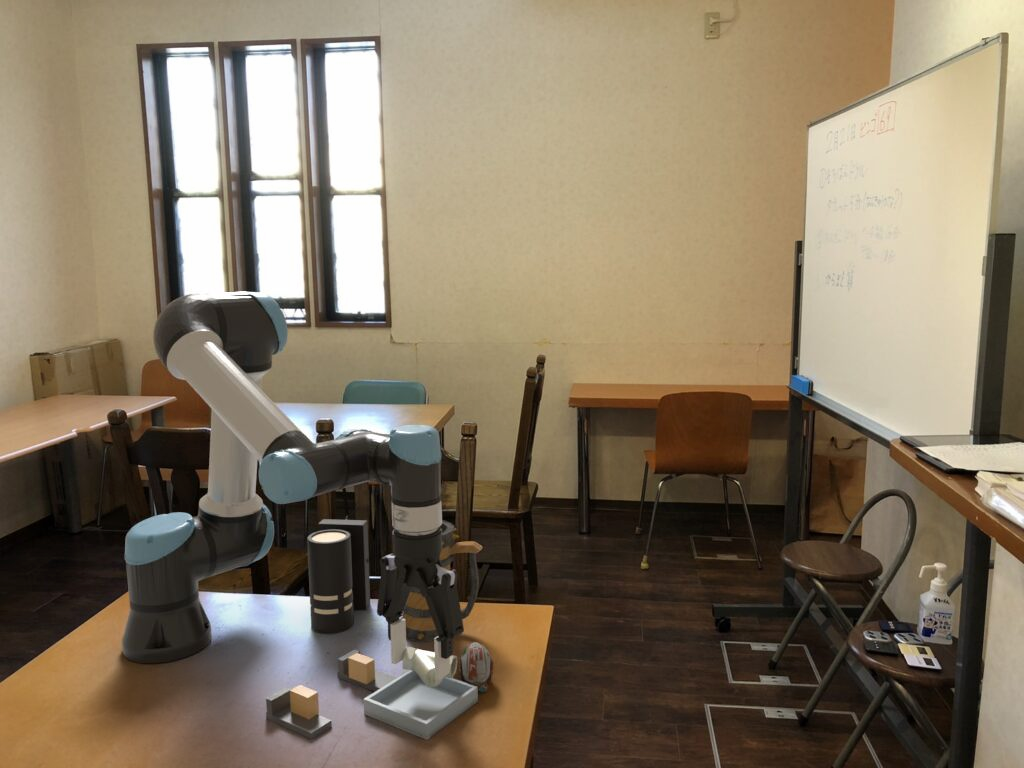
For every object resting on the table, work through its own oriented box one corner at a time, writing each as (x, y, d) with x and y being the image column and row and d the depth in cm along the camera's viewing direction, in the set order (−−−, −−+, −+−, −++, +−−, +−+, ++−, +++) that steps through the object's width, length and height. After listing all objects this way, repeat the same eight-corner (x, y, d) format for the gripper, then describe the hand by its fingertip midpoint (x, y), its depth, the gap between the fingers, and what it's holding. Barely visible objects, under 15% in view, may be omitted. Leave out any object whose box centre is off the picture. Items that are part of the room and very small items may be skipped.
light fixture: (300, 632, 155) (296, 542, 153) (325, 602, 169) (321, 519, 166) (350, 635, 154) (347, 544, 151) (371, 604, 168) (368, 520, 165)
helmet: (458, 698, 134) (458, 671, 130) (457, 657, 141) (457, 631, 137) (494, 696, 135) (495, 670, 131) (491, 656, 141) (492, 629, 137)
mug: (405, 612, 164) (402, 515, 161) (490, 618, 161) (489, 519, 158) (385, 642, 151) (381, 537, 148) (476, 648, 149) (475, 542, 145)
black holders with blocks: (266, 718, 126) (264, 691, 126) (354, 667, 142) (353, 643, 141) (311, 739, 121) (310, 710, 120) (398, 683, 136) (397, 658, 136)
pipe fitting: (441, 695, 125) (457, 673, 131) (442, 671, 124) (457, 650, 131) (393, 685, 127) (410, 663, 134) (393, 662, 126) (411, 641, 133)
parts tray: (364, 714, 127) (363, 699, 127) (417, 679, 138) (416, 665, 137) (426, 739, 120) (426, 724, 120) (477, 701, 131) (477, 686, 130)
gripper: (349, 522, 127) (354, 659, 131) (456, 548, 116) (458, 698, 119) (382, 509, 133) (386, 641, 137) (487, 533, 122) (488, 676, 125)
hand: (420, 667), depth 128 cm, fingers closed on pipe fitting, 8 cm apart
